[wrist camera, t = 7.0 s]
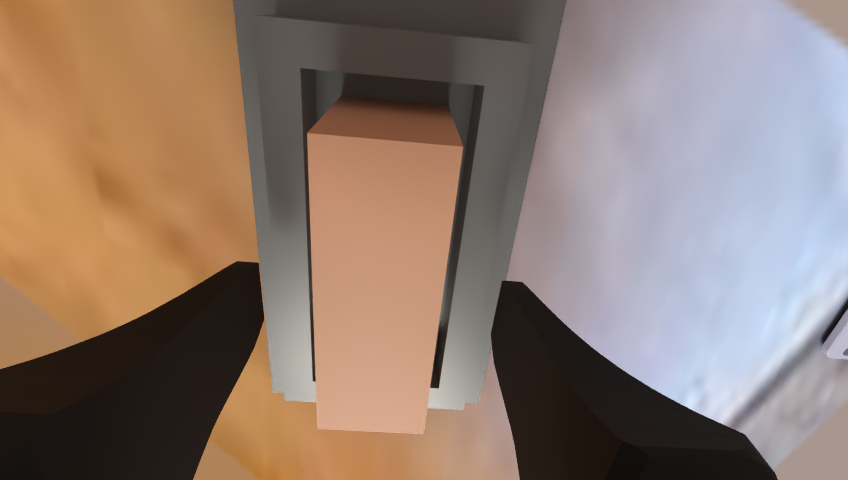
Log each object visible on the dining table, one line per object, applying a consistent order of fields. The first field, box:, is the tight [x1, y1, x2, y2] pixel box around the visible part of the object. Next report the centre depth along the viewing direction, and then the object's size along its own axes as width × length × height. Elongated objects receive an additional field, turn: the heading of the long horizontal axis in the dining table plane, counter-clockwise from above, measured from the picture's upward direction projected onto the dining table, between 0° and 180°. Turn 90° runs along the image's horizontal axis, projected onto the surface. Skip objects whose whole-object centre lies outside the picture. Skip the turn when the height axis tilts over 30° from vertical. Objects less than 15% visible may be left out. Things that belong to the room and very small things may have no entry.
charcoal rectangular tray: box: [233, 0, 566, 410], centre depth 16 cm, size 10×18×3 cm, turn 175°
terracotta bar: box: [307, 96, 463, 434], centre depth 14 cm, size 4×10×5 cm, turn 175°
